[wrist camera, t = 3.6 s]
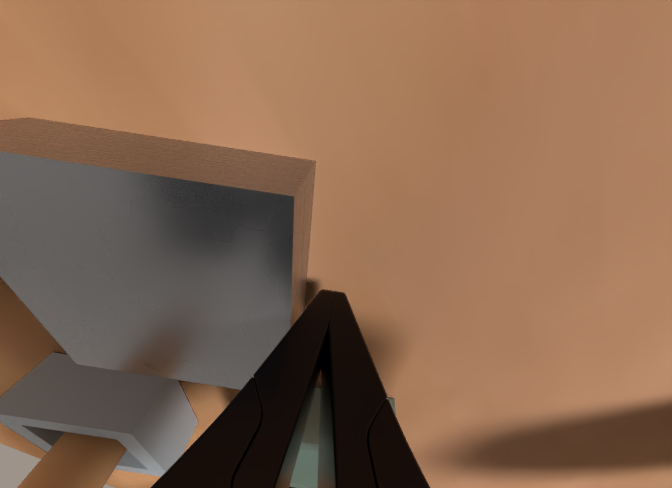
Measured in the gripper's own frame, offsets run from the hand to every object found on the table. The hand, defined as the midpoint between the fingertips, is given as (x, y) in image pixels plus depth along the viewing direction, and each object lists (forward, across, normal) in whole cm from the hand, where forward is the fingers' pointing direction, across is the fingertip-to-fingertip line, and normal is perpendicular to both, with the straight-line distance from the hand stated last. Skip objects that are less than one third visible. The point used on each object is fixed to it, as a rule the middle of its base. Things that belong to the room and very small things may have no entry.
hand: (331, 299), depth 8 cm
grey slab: (+2, +5, 0) cm, 5 cm away
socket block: (+1, +12, +12) cm, 17 cm away
